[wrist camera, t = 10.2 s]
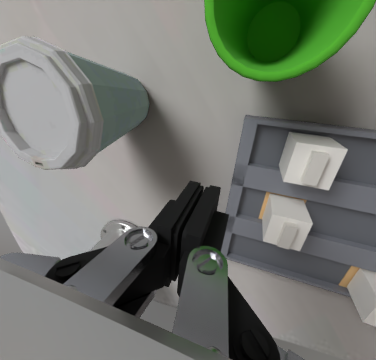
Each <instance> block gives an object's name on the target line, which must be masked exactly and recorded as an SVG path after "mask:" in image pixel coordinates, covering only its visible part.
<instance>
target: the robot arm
mask: <svg viewBox="0 0 376 360" xmlns="http://www.w3.org/2000/svg"><path fill="white" fill-rule="evenodd" d="M220 189H221V187H216V186H212V185H210V187H206V188H205V190H204V192H203V186H200V183H198V182H194V181H190V182H189V183H188V185H187V186H186V187H185V189H184V190H183V191H182V193H181V194H180V196H179V197H178V198H177V200H176V201H175V200H170V201H169V202H168V203H167V204H166V206H165V207H164V208H163V209H162V211H161V212H160V213H159V214H158V216H157V217H156V218H155V220H154V221H153V222H152V223H151V225H150V226H149V227H148V228H147V227H136V226H135V225H133V224H131V223H128V222H125V221H121V220H114V221H111V222H109V223H107V224H106V225H105V226H104V227H103V228H102V230H101V240H100V241H99V242H98V243H97V244H96V245H95V246H94V247H93V248H92V249H91V250H90V251H89V252H86V253H82V254H78V255H75V256H71V257H68V258H65V259H63V260H61V259H60V258H59V257H51V256H43V255H34V254H26V253H9V254H5V255H2V256H0V360H305V359H303V358H302V357H300V356H299V355H297V354H295V353H294V352H292V351H291V350H289V349H288V351H287V352H286V351H285V350H283V349H282V348H280V347H279V346H277V345H276V343H275V341H274V340H273V338H272V336H271V335H270V333H269V332H268V331H267V329H266V328H265V326H264V325H263V324H262V322H261V321H260V320H259V318H258V317H257V315H256V314H255V313H254V311H253V310H252V309H251V307H250V306H249V304H248V303H247V302H246V300H245V299H244V298H243V296H242V295H241V293H240V292H239V291H238V289H237V288H236V287H235V285H234V284H233V282H232V281H231V280H230V278H229V277H228V265H227V260H226V258H225V256H224V255H223V254H222V253H221V249H222V245H223V240H224V236H225V232H226V227H227V222H228V218H229V214H226V213H222V212H218V211H217V206H218V201H219V195H220ZM178 274H179V276H178ZM177 277H178V288H177V293H178V295H179V303H178V307H177V312H176V317H175V321H174V326H173V331H172V333H171V332H169V331H167V330H165V329H162V328H160V327H158V326H156V325H153V324H151V323H149V322H147V321H144V320H142V319H140V317H141V315H142V314H143V312H144V311H145V309H146V307H147V306H148V305H149V303H150V302H151V300H152V299H153V297H154V296H155V294H156V291H157V289H160V288H162V287H163V286H166V287H169V285H170V283H171V281H176V279H177Z"/></svg>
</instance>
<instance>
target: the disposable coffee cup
mask: <svg viewBox="0 0 376 360" xmlns="http://www.w3.org/2000/svg"><path fill="white" fill-rule="evenodd" d="M149 105H150V104H149V99H148V94H147V91H146V90H145V89H144V87H143V86H142V85H141V83H140V82H139V81H138V79H135V78H133V77H131V76H129V75H127V74H124V73H122V72H119V71H116V70H114V69H111V68H108V67H106V66H103V65H100V64H98V63H95V62H93V61H90V60H87V59H85V58H82V57H79V56H77V55H74V54H72V53H69V52H66V50H64V49H62V48H59V47H57V46H55V45H53V44H51V43H48V42H46V41H44V40H42V39H40V38H37V37H35V36H33V37H27V36H21V37H19V38H16V39H14V40H11V41H9V42H6V43H4V44H1V45H0V136H1V137H2V138H3V139H4V141H5V142H6V143H7V144H8V145H9V147H10V148H11V149H12V150H13V152H14V153H15V154H16V155H17V156H18V158H20V159H22V160H24V161H26V162H28V163H30V164H32V165H33V166H35V167H38V168H41V169H45V170H48V169H75V168H79V167H84V166H86V165H87V164H88V163H89V162H90V161H91V160H92V159H93V157H94V156H95V155H96V154H97V153H99V152H100V151H101V150H103V149H104V148H106V147H107V146H109V145H110V144H112V143H113V142H114V141H116V140H117V139H119V138H120V137H122V136H123V135H125V134H126V133H128V132H129V131H130V130H132V129H133V128H135V127H136V126H138V125H139V124H140V123H141V122H142V121H143V120H144V119H145V118H146V116H147V113H148V109H149Z"/></svg>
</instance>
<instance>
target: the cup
mask: <svg viewBox="0 0 376 360" xmlns="http://www.w3.org/2000/svg"><path fill="white" fill-rule="evenodd" d="M204 2H205V21H206V25H207V29H208V33H209V37H210V40H211V42H212V44H213V46H214V48H215V50H216V52H217V54H218V56H219V57H220V58H221V59H222V60H223V61H224V63H225V64H226V65H227V66H228V67H229V68H230V69H232V70H233V71H235V72H236V73H238V74H240V75H241V76H243V77H246V78H249V79H253V80H256V81H269V82H277V81H282V80H286V79H290V78H295V77H297V76H300V75H302V74H304V73H306V72H308V71H310V70H312V69H314V68H316V67H318V66H319V65H320V64H322V63H323V62H325V61H326V60H327V59H329V58H330V57H332V56H333V55H334V54H336V53H337V52H338V51H339V50H340V49H341V48H342V47H343V46H344V45H345V44H346V42H347V41H348V40H349V39H350V38H351V37H352V36H353V35H354V34H355V33H356V32H357V30H358V29H359V27H360V26H361V24H362V23H363V22H364V20H365V19H366V17H367V16H368V14H369V13H370V11H371V10H372V8H373V7H374V4H375V2H376V0H204Z"/></svg>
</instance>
